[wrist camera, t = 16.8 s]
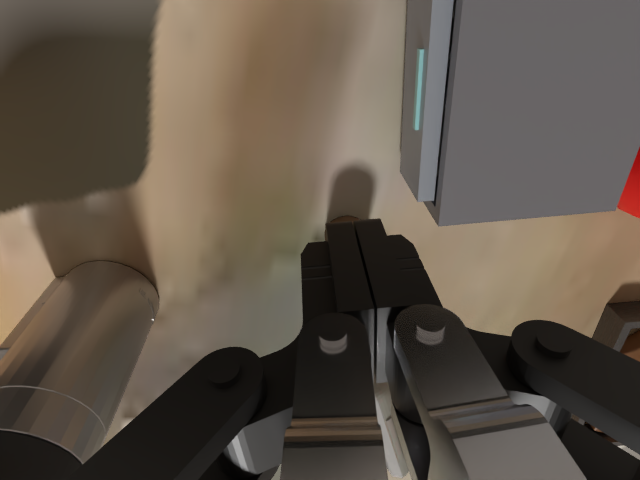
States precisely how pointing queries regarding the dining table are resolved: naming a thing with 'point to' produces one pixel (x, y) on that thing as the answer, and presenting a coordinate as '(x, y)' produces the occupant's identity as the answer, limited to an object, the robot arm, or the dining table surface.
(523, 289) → the dining table surface
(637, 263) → the dining table surface
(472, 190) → the housing
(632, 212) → the teapot
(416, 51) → the grey drawer box
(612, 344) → the rectangular frame
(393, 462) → the grey tissue
